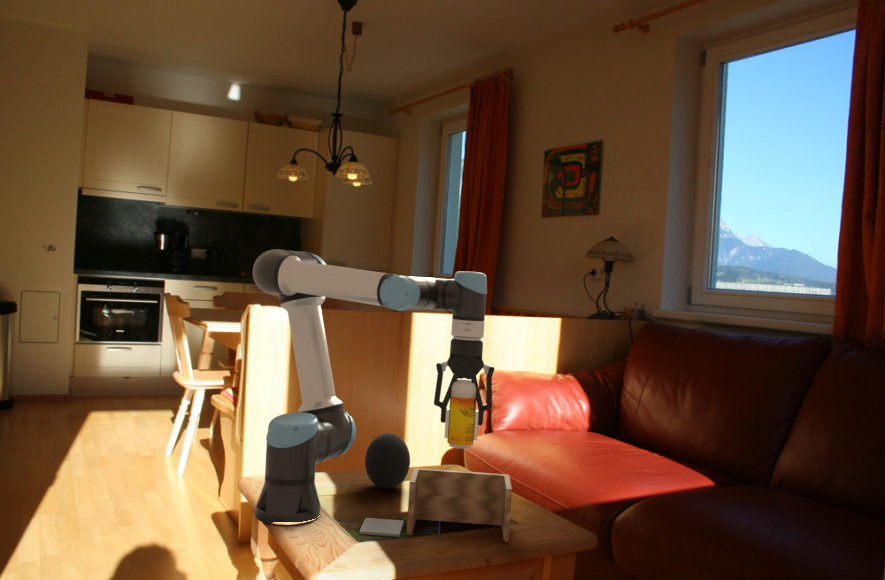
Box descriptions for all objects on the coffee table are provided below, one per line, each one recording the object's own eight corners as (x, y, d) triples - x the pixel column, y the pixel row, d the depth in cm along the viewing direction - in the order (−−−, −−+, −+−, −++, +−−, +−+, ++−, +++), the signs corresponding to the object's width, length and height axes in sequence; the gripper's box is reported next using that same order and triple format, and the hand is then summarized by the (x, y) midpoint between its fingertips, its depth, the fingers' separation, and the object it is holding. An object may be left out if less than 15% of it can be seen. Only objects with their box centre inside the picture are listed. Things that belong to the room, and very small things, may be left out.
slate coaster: (359, 533, 155) (359, 531, 155) (365, 520, 164) (365, 517, 164) (399, 536, 154) (399, 534, 154) (403, 523, 163) (403, 520, 163)
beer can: (471, 450, 156) (475, 384, 156) (444, 447, 158) (448, 382, 157) (475, 444, 162) (479, 381, 162) (449, 441, 164) (453, 378, 163)
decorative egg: (373, 496, 182) (376, 440, 182) (356, 483, 193) (360, 429, 192) (415, 492, 187) (419, 437, 187) (397, 480, 198) (400, 428, 198)
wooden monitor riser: (406, 534, 156) (409, 481, 155) (411, 517, 168) (414, 467, 167) (508, 542, 155) (511, 489, 154) (506, 524, 167) (509, 474, 166)
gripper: (425, 336, 156) (418, 438, 157) (509, 342, 156) (502, 444, 156) (427, 334, 164) (420, 431, 164) (507, 339, 163) (500, 437, 163)
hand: (460, 437), depth 160 cm, fingers closed on beer can, 6 cm apart
